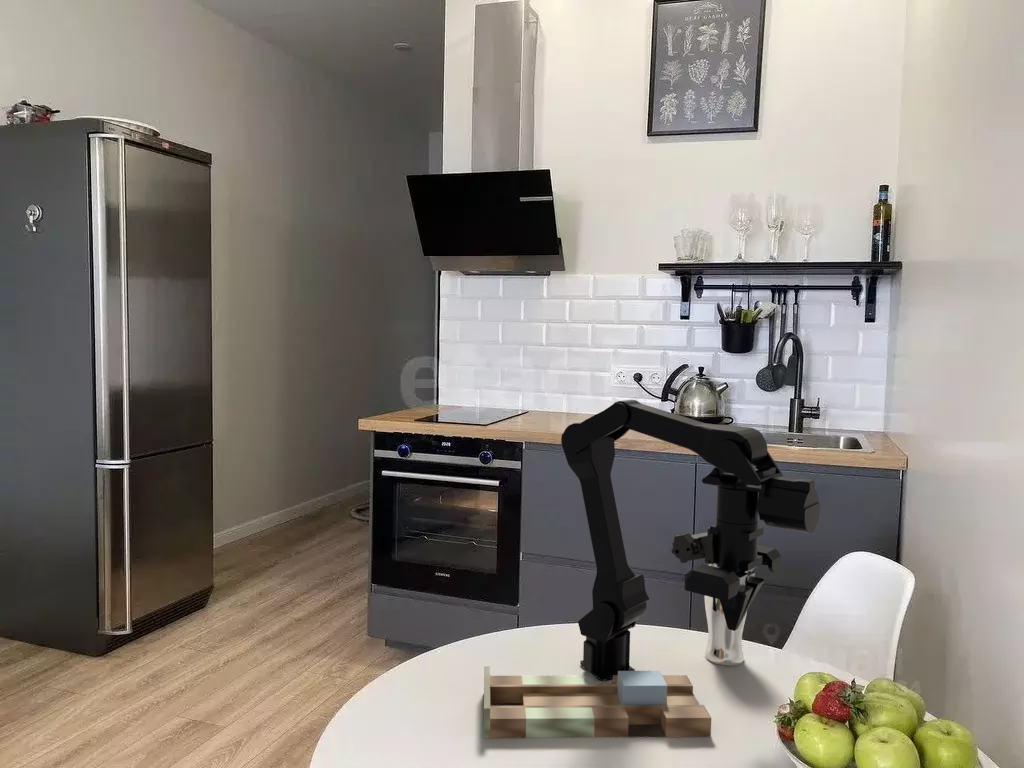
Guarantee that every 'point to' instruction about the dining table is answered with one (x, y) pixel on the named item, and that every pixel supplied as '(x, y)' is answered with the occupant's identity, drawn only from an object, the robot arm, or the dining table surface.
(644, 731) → the tray
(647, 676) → the block
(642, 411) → the robot arm
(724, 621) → the beer glass
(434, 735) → the dining table surface
